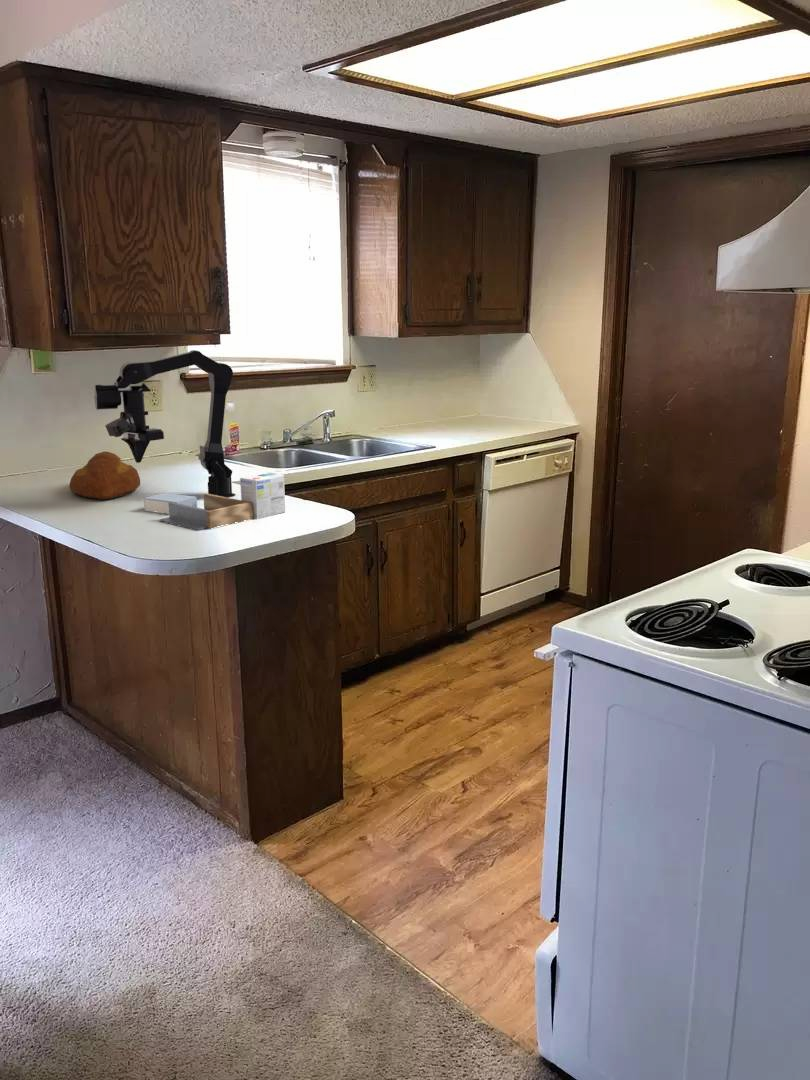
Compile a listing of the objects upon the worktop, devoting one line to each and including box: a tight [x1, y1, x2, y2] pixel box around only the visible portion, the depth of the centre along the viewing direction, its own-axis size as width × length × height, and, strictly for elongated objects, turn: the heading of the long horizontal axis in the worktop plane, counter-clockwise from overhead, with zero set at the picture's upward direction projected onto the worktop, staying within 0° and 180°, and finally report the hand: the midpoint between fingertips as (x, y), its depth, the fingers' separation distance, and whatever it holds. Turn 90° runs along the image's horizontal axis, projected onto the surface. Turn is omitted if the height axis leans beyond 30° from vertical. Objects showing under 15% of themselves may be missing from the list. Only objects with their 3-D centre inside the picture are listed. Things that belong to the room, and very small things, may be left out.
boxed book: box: [143, 492, 198, 514], centre depth 241 cm, size 8×12×4 cm
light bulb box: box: [239, 472, 286, 519], centre depth 235 cm, size 11×7×11 cm, turn 141°
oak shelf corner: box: [202, 492, 254, 529], centre depth 231 cm, size 14×19×4 cm
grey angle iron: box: [159, 502, 210, 531], centre depth 224 cm, size 4×16×4 cm, turn 51°
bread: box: [69, 451, 141, 500], centre depth 265 cm, size 21×33×12 cm, turn 13°
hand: (138, 462), depth 247 cm, fingers closed
